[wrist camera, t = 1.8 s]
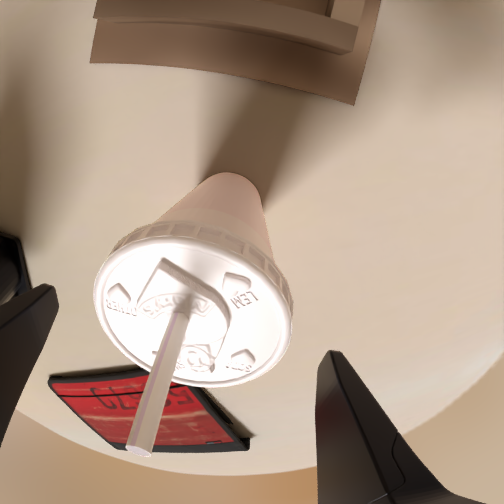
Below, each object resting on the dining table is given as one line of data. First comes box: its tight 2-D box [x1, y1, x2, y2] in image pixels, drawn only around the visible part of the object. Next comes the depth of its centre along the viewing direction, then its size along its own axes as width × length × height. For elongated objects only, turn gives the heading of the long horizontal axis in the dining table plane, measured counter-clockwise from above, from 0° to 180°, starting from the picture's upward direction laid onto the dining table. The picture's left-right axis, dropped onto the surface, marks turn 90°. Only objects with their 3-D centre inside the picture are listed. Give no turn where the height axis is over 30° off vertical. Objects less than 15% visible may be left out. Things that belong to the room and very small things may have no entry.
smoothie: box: [94, 172, 293, 457], centre depth 11 cm, size 6×6×14 cm
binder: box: [48, 368, 250, 453], centre depth 31 cm, size 16×2×21 cm
